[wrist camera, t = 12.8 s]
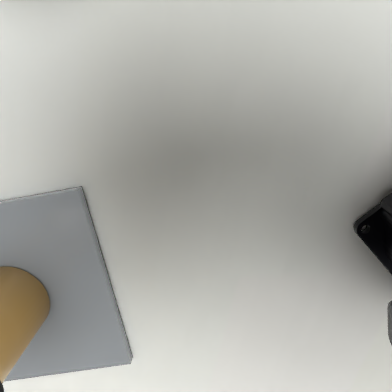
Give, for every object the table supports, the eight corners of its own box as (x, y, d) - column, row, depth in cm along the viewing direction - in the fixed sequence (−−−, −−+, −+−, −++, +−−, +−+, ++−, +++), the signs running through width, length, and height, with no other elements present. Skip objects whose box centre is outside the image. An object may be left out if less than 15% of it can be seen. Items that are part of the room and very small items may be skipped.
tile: (81, 186, 21) (78, 189, 20) (132, 356, 24) (130, 363, 24) (-115, 221, 22) (-124, 225, 21) (-37, 380, 25) (-43, 387, 25)
